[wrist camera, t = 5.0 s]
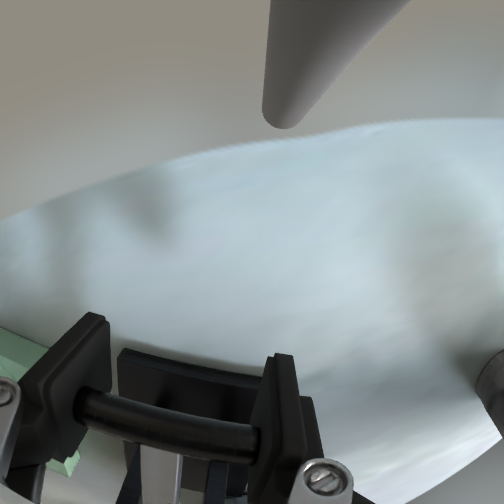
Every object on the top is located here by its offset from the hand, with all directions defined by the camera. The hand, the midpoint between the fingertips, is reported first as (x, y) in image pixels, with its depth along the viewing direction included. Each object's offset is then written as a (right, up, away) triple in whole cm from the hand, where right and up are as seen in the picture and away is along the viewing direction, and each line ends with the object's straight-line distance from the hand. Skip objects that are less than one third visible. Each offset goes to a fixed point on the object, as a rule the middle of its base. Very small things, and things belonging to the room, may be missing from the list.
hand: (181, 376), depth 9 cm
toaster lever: (-1, -6, 0) cm, 6 cm away
